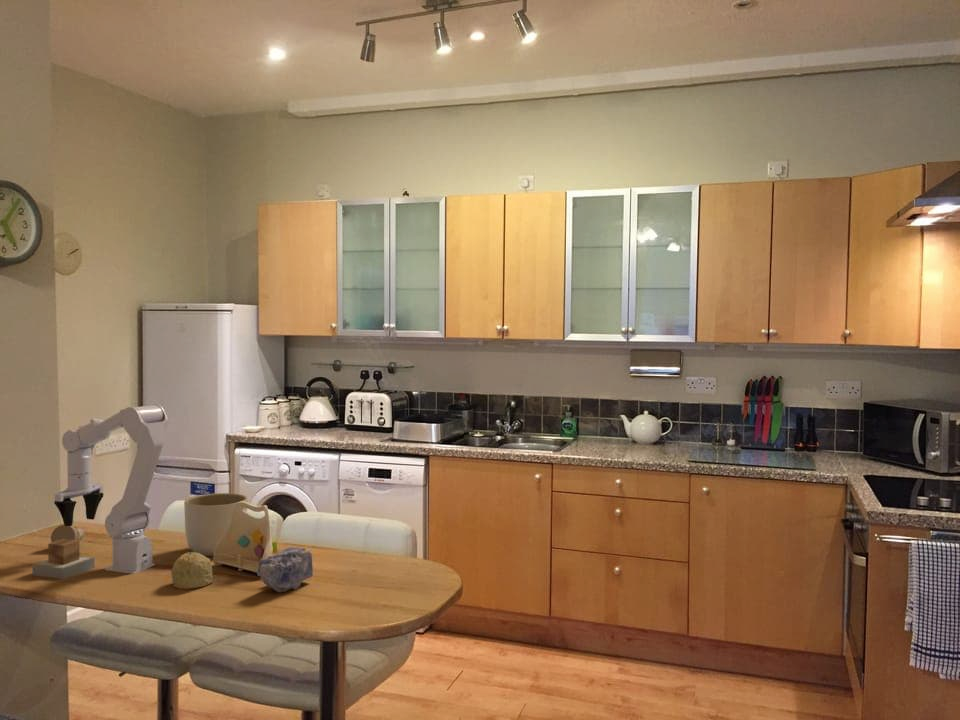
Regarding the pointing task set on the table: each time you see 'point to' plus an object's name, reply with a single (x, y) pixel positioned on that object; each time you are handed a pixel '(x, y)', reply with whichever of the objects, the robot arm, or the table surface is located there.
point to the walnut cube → (63, 551)
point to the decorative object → (192, 571)
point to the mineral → (286, 569)
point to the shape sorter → (246, 539)
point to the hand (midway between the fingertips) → (79, 522)
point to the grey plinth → (63, 568)
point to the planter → (209, 520)
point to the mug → (67, 533)
